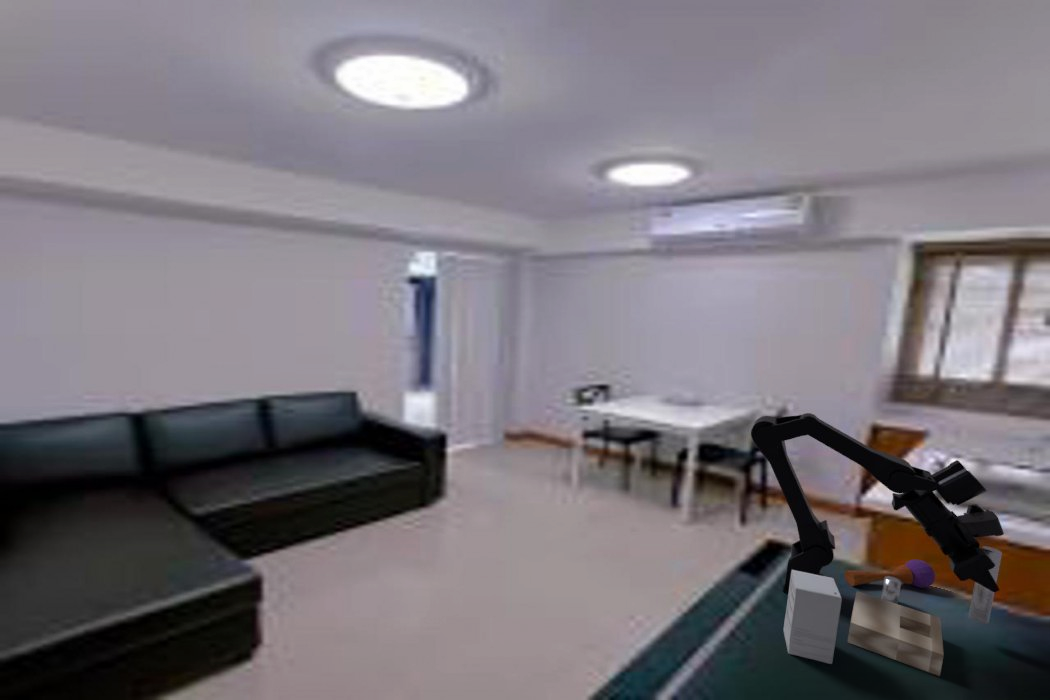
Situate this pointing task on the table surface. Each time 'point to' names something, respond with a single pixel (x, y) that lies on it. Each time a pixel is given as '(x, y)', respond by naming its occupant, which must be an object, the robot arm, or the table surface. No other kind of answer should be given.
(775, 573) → the table surface
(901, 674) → the table surface
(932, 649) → the hole block
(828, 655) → the supplement box
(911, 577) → the kendama
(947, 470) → the robot arm
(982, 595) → the long pin
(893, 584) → the short pin
